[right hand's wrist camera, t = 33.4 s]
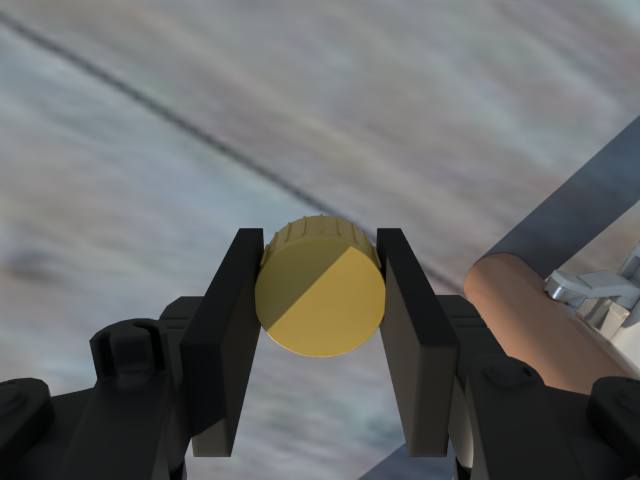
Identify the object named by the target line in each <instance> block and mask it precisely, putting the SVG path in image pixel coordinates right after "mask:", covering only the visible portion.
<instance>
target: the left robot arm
mask: <svg viewBox="0 0 640 480" xmlns="http://www.w3.org/2000/svg"><path fill="white" fill-rule="evenodd" d="M543 290H544V291H545V292H548V295H549V296H550V297H551V298H553V299H555V300H556V301H558V302H562V303H567V304H568V305H570V306H572V307H574V308H577V309H578V308H579V307H580V306H581V304H582V303H583V302H584V300H585V299H588V298H598V297H600V299H599V300H598V302H597V303H596V304H595V306H594V307H593V309H592V310H591V312H590V313H589V315H588V316H587V317H586V319H587V320H588V321H589V322H590V323H591V324H592V325H593V326H595V327H596V328H597V329H598V330H599V331H600V332H601V333H602V334H603V335H604V336H605V337H606V338H608V339H609V340H610V341H611V342H612V343H613V344H614V345H615V346H616V347H617V348H618V349H619V350H621V351H622V352H623V353H624V354H625V355H626V356H627V357H628V358H629V359H630V360H631V361H632V362H634V363H635V364H636V365H637V366H638V367H639V368H640V241H639V242H638V244H637V245H636V247H635V248H634V250H633V251H632V253H631V254H630V255H629V257H628V258H627V260H626V261H625V263H624V264H623V266H622V267H621V268H620V270H619V271H618V273H617V274H615V273H613V272H610V271H607V270H604V271H598V272H593V273H587V274H581V275H577V276H576V277H575V276H572V275H570V274H567V273H565V272H562V271H559V270H556V269H555V270H554V271H553V273H552V274H551V276H550V278H549V279H548V281H547V283H546V284H545V286H544V287H543Z"/></svg>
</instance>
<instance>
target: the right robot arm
mask: <svg viewBox="0 0 640 480" xmlns="http://www.w3.org/2000/svg"><path fill="white" fill-rule="evenodd" d="M376 250H377V253H378V256H379V259H380V262H381V266H382V268H381V271H382V274H383V277H384V281H385V285H386V291H385V308H384V317H383V319H382V321H381V323H380V325H379V328H380V332H381V336H382V340H383V345H384V349H385V353H386V358H387V362H388V366H389V370H390V375H391V379H392V383H393V387H394V392H395V396H396V400H397V405H398V409H399V413H400V417H401V422H402V426H403V430H404V435H405V439H406V443H407V447H408V452H409V456H410V457H446V456H447V449H448V441H449V436H450V439H451V442H452V445H453V448H454V451H455V453H456V458H455V465H454V472H453V479H452V480H640V380H637V379H633V378H628V377H620V376H607V377H602V378H599V379H597V380H596V381H595V382H594V383H593V385H592V389H591V393H590V395H587V394H582V393H577V392H572V391H567V390H562V389H558V388H554V387H551V386H547V385H545V383H544V381H543V379H542V377H541V376H540V375H539V373H538V372H537V371H536V370H535V369H534V368H533V367H531V366H530V365H528V364H527V363H526V362H523V361H521V360H519V359H516V358H514V357H511V356H507V354H506V353H505V351H504V350H503V348H502V347H501V345H500V344H499V342H498V341H497V339H496V338H495V336H494V335H493V333H492V332H491V330H490V329H489V328H487V324H486V323H485V321H484V320H483V318H481V315H480V314H479V312H478V311H477V309H476V308H475V306H474V305H473V304H472V303H470V302H469V301H467V300H466V299H464V298H463V297H461V296H460V295H435V293H434V291H433V289H432V287H431V285H430V284H429V282H428V280H427V278H426V276H425V274H424V272H423V270H422V268H421V266H420V264H419V262H418V261H417V259H416V257H415V255H414V253H413V251H412V249H411V247H410V245H409V243H408V241H407V240H406V238H405V236H404V234H403V232H402V230H401V228H377V245H376ZM263 253H264V239H263V228H240V229H239V230H238V232H237V234H236V236H235V238H234V240H233V242H232V244H231V246H230V248H229V250H228V252H227V253H226V255H225V257H224V259H223V261H222V263H221V265H220V267H219V269H218V271H217V273H216V275H215V276H214V278H213V280H212V282H211V284H210V286H209V288H208V290H207V292H206V294H205V296H181V297H180V298H178V299H177V300H175V301H174V302H172V303H171V304H169V305H168V306H167V307H166V308H165V310H164V311H163V313H162V314H161V316H160V317H159V318H160V319H159V320H153V319H149V318H135V319H130V320H124V321H120V322H117V323H115V324H112V325H109V326H107V327H105V328H104V329H102V330H100V331H99V332H97V333H96V334H95V335H94V336H93V337H92V338H91V340H90V341H89V342H90V346H91V351H92V356H93V360H94V365H95V370H96V374H97V382H96V384H95V386H94V387H93V388H89V389H86V390H82V391H77V392H73V393H68V394H63V395H58V396H53V397H51V395H50V391H49V388H48V385H47V384H46V383H45V382H43V381H42V380H40V379H35V378H20V379H13V380H8V381H4V382H1V383H0V480H186V479H187V472H186V465H185V458H184V456H185V454H186V451H187V448H188V445H189V442H190V439H192V447H193V454H194V457H231V453H232V449H233V444H234V440H235V436H236V431H237V427H238V423H239V419H240V414H241V410H242V406H243V401H244V397H245V393H246V389H247V384H248V380H249V376H250V372H251V367H252V363H253V359H254V354H255V350H256V346H257V342H258V337H259V333H260V329H261V323H260V322H259V320H258V317H257V314H256V304H255V284H256V280H257V277H258V274H259V270H260V267H261V266H260V263H261V260H262V257H263Z"/></svg>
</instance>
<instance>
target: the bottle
mask: <svg viewBox="0 0 640 480" xmlns="http://www.w3.org/2000/svg"><path fill="white" fill-rule="evenodd" d="M546 283H547V282H546V281H545V280H544V279H543V278H541V277H540V276H539V275H538V274H537V273H536V272H535V271H534V270H533V269H532V268H531V267H530V266H529V265H527V264H526V263H525V262H524V261H523V260H522V259H521V258H519V257H517V256H515V255H512V254H508V253H496V254H492V255H489V256H486V257H484V258H482V259H481V260H479V261H478V262H477V263H475V264H474V265H473V266H472V268H471V269H470V270H469V272H468V274H467V276H466V279H465V283H464V292H465V295H466V298H467V300H468V301H469V302H470V303H472V304H473V305H474V306H475V308H476V309H477V311H478V312H479V314H480V315H481V318H483V320H484V321H485V323H486V324H487V328H489V329H490V330H491V332H492V333H493V335H494V336H495V338H496V339H497V341H498V342H499V344H500V345H501V347H502V348H503V350H504V351H505V353H506V354H507V356H511V357H514V358H516V359H519V360H521V361H523V362H526V363H527V364H528V365H530V366H531V367H533V368H534V369H535V370H536V371H537V372H538V373H539V375H540V376H541V377H542V379H543V381H544V383H545V385H547V386H551V387H554V388H558V389H562V390H567V391H572V392H577V393H582V394H587V395H590V393H591V389H592V385H593V383H594V382H595V381H596V380H597V379H599V378H602V377H607V376H620V377H628V378H633V379H637V380H640V368H639V367H638V366H637V365H636V364H635V363H634V362H632V361H631V360H630V359H629V358H628V357H627V356H626V355H625V354H624V353H623V352H622V351H621V350H619V349H618V348H617V347H616V346H615V345H614V344H613V343H612V342H611V341H610V340H609V339H608V338H606V337H605V336H604V335H603V334H602V333H601V332H600V331H599V330H598V329H597V328H596V327H595V326H593V325H592V324H591V323H590V322H589V321H588V320H587V319H586V318H585V317H584V316H583V315H582V314H580V313H579V312H578V311H577V310H576V309H575V308H574V307H572V306H570V305H568V304H567V303H562V302H558V301H556V300H555V299H553V298H551V297H550V296H549V295H548V292H545V291H544V290H543V287H544V286H545V284H546Z"/></svg>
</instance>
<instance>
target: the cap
mask: <svg viewBox="0 0 640 480" xmlns="http://www.w3.org/2000/svg"><path fill="white" fill-rule="evenodd" d="M260 266H261V267H260V270H259V274H258V277H257V280H256V284H255V304H256V314H257V317H258V320H259V322H260V323H261V325H262V327H263V328H264V330H265V331H266V332H267V334H268V335H269V336H270V337H271V338H272V339H273V340H274V341H276V342H277V343H278V344H280V345H281V346H283V347H284V348H286V349H288V350H290V351H293V352H295V353H298V354H301V355H306V356H313V357H328V356H335V355H339V354H343V353H345V352H348V351H351V350H353V349H355V348H357V347H358V346H360V345H361V344H363V343H364V342H365V341H366V340H367V339H369V338H370V337H371V336H372V334H373V333H374V332H375V331H376V329H377V328H378V327H379V325H380V323H381V321H382V319H383V317H384V308H385V291H386V285H385V281H384V277H383V274H382V271H381V268H382V266H381V262H380V259H379V256H378V253H377V250H376V247H375V246H373V245H372V244H371V242H370V240H369V239H368V236H367V234H366V233H365V234H364V233H363V232H362V231H361V230H359V229H358V228H357V227H355V224H354V223H352V224H350V223H349V222H347V221H344V220H342V219H340V217H337V218H335V217H330V216H323V214H320V216H311V217H306V216H304V217H303V218H302V219H299V220H297V221H294V222H292V223H290V222H289V223H288V224H287V226H285V227H284V228H283V229H281V230H280V231H279V232H276V233H275V235H274V238H273V239H272V240H271V242H270V243H269V245H268V244H267V245H266V247H265V250H264V253H263V257H262V260H261V263H260Z"/></svg>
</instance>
